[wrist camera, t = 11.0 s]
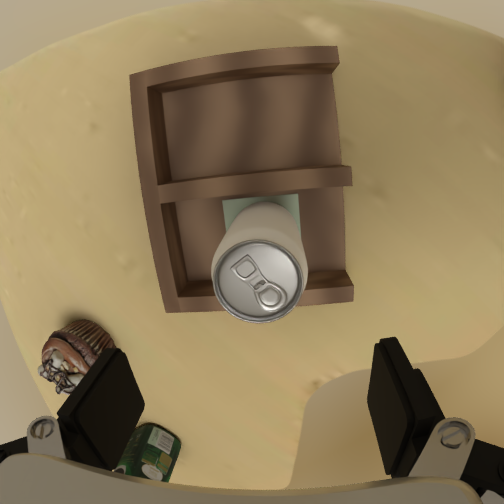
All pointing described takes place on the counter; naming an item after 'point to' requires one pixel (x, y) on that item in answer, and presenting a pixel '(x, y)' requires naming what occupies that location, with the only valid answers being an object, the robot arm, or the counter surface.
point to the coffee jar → (150, 454)
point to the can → (260, 264)
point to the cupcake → (72, 353)
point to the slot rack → (240, 163)
